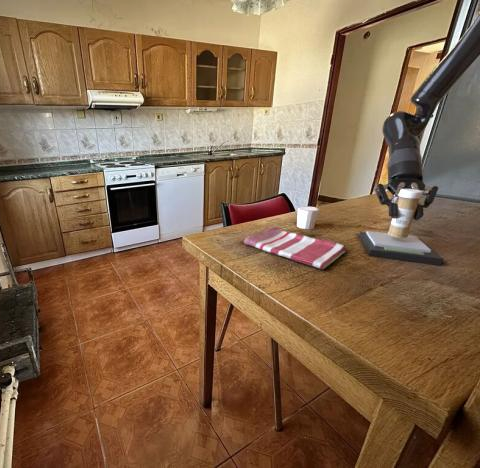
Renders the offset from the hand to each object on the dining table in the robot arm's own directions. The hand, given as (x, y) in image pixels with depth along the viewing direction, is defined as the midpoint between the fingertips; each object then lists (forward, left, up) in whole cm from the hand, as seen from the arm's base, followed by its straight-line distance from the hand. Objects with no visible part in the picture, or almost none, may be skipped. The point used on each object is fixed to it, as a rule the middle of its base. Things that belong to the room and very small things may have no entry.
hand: (405, 217), depth 70 cm
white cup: (+23, -14, -10) cm, 29 cm away
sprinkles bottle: (0, -2, -6) cm, 7 cm away
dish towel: (+27, +9, -10) cm, 30 cm away
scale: (0, -1, -10) cm, 10 cm away
